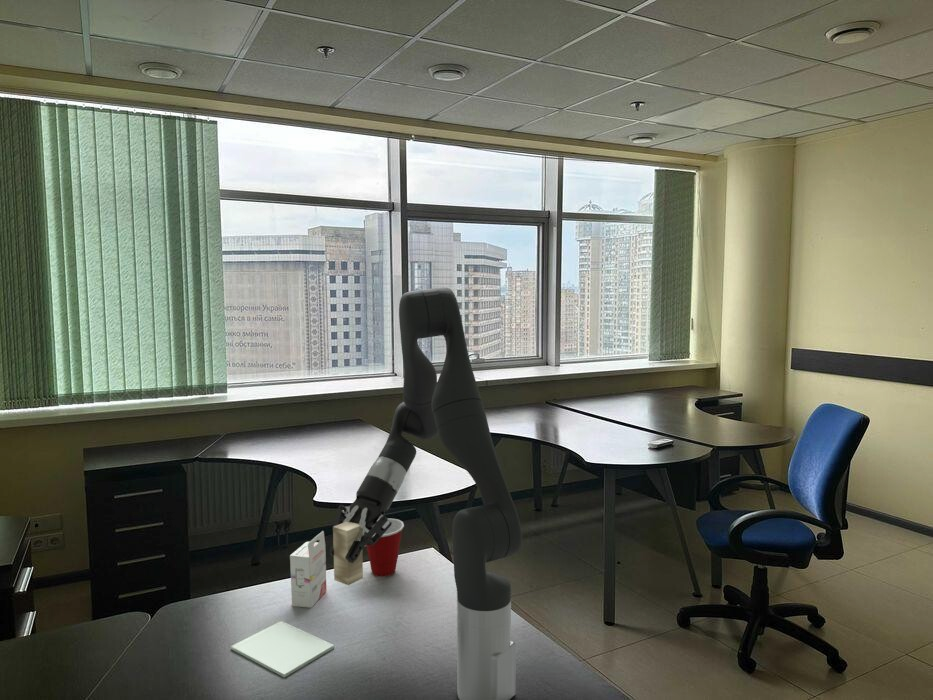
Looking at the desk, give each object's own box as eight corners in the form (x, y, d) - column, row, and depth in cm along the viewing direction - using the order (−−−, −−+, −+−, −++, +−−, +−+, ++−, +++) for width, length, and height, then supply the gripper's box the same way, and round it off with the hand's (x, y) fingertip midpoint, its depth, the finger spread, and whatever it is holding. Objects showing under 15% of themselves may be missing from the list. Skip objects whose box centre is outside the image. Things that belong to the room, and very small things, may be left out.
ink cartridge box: (307, 589, 152) (305, 528, 151) (327, 591, 151) (325, 529, 150) (290, 606, 144) (288, 542, 142) (311, 608, 143) (309, 543, 141)
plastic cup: (355, 567, 164) (354, 521, 163) (396, 560, 169) (395, 515, 167) (367, 585, 154) (366, 536, 153) (410, 576, 159) (410, 529, 158)
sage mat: (334, 648, 127) (334, 645, 127) (284, 677, 117) (284, 674, 117) (281, 623, 136) (281, 620, 136) (231, 649, 127) (231, 646, 126)
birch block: (362, 578, 131) (361, 524, 130) (348, 585, 128) (347, 530, 127) (348, 573, 133) (347, 521, 132) (334, 580, 130) (332, 526, 129)
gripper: (348, 469, 139) (305, 541, 130) (398, 479, 131) (356, 558, 122) (366, 487, 144) (326, 558, 135) (416, 498, 135) (376, 575, 127)
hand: (341, 557), depth 128 cm, fingers closed on birch block, 4 cm apart
